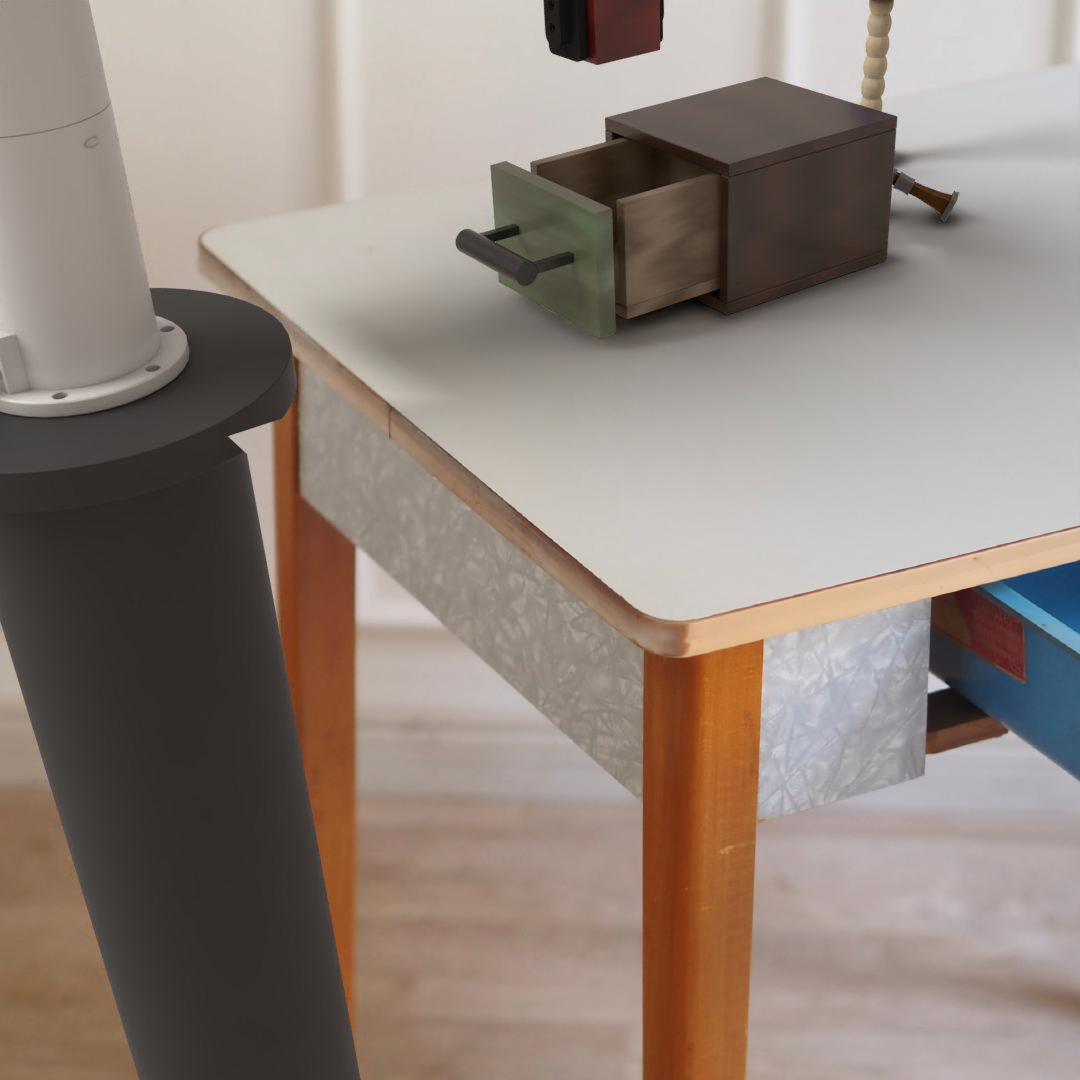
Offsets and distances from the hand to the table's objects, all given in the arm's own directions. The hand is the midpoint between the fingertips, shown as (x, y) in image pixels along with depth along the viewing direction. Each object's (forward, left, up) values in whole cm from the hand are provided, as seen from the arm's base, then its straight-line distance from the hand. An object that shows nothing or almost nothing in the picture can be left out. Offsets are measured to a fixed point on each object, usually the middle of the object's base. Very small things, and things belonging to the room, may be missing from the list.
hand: (606, 44), depth 87 cm
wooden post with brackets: (+24, -1, -16) cm, 29 cm away
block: (0, 0, 0) cm, 0 cm away
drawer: (-1, 0, -15) cm, 15 cm away
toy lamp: (+31, +9, -16) cm, 36 cm away
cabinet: (+11, 0, -16) cm, 20 cm away
